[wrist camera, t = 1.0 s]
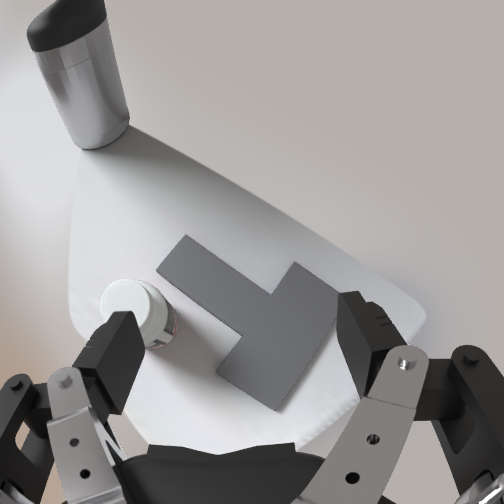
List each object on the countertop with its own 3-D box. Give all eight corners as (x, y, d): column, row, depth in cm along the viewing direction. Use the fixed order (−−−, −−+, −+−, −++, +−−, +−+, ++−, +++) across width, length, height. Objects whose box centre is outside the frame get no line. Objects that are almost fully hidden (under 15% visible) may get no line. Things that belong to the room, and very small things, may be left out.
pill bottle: (147, 287, 30) (120, 255, 21) (188, 317, 30) (175, 297, 21) (118, 328, 28) (78, 312, 19) (158, 360, 28) (132, 358, 19)
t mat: (130, 305, 29) (128, 303, 29) (211, 208, 34) (211, 204, 33) (273, 409, 27) (275, 411, 26) (344, 299, 32) (347, 298, 31)
